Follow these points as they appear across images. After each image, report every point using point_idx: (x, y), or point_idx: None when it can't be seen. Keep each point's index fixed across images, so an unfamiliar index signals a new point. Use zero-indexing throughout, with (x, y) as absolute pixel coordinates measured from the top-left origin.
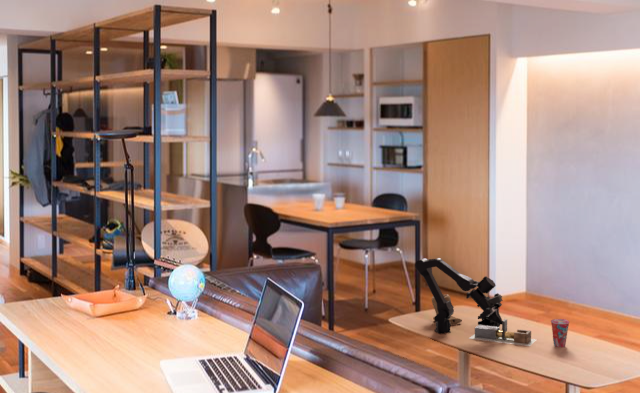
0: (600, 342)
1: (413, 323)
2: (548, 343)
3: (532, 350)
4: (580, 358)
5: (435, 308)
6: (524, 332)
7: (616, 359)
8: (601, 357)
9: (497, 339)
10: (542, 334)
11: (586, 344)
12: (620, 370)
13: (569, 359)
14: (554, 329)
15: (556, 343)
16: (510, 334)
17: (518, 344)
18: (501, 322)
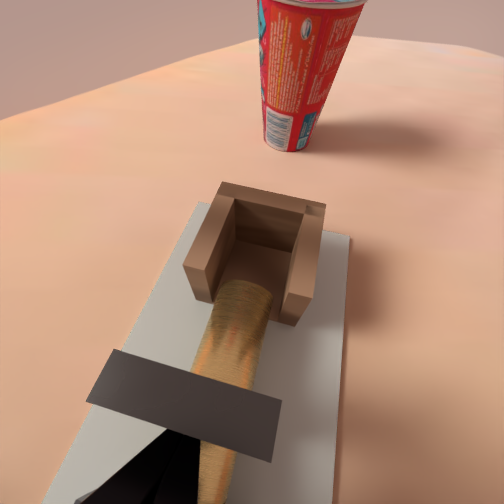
0: (205, 58)
1: None
2: (252, 166)
3: (411, 228)
4: (419, 104)
5: None
6: (226, 228)
7: (375, 54)
8: (374, 71)
9: (239, 489)
10: (79, 178)
11: (237, 81)
12: (470, 58)
13: (454, 126)
14: (339, 56)
15: (313, 130)
16: (259, 340)
17: (339, 295)
18: (195, 474)
